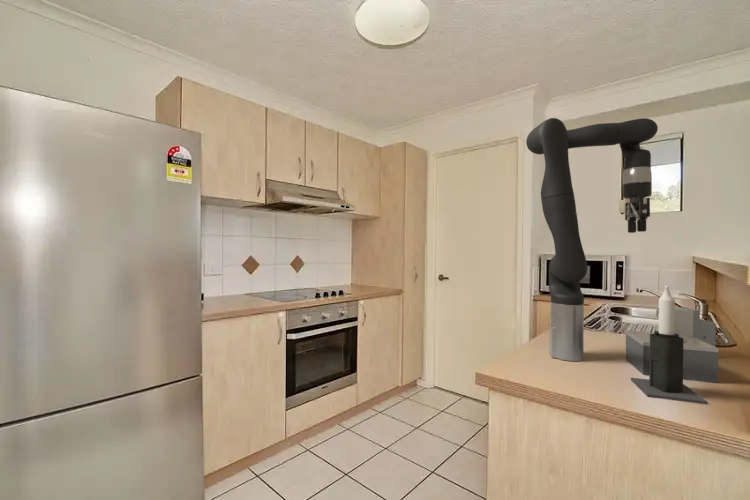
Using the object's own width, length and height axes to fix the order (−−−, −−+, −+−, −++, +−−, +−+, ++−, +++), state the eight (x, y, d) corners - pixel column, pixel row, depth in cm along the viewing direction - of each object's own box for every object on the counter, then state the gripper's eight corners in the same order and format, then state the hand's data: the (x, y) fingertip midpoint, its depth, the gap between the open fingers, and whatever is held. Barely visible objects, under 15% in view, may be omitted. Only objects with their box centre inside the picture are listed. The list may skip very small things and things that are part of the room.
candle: (646, 384, 86) (647, 284, 85) (665, 383, 86) (666, 284, 86) (665, 393, 80) (666, 286, 80) (685, 392, 81) (686, 286, 81)
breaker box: (643, 374, 94) (643, 342, 94) (625, 359, 107) (625, 330, 107) (718, 383, 88) (718, 348, 88) (690, 365, 101) (690, 335, 101)
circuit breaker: (721, 359, 108) (722, 311, 108) (669, 356, 110) (669, 309, 110) (703, 352, 115) (704, 307, 115) (655, 349, 118) (655, 306, 118)
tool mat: (647, 396, 80) (647, 394, 80) (630, 379, 90) (630, 377, 90) (707, 404, 76) (707, 401, 76) (682, 385, 86) (682, 383, 86)
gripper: (616, 187, 120) (616, 233, 120) (631, 179, 107) (630, 231, 107) (642, 185, 118) (642, 233, 118) (660, 177, 104) (660, 230, 104)
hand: (636, 232), depth 112 cm, fingers open, 8 cm apart
